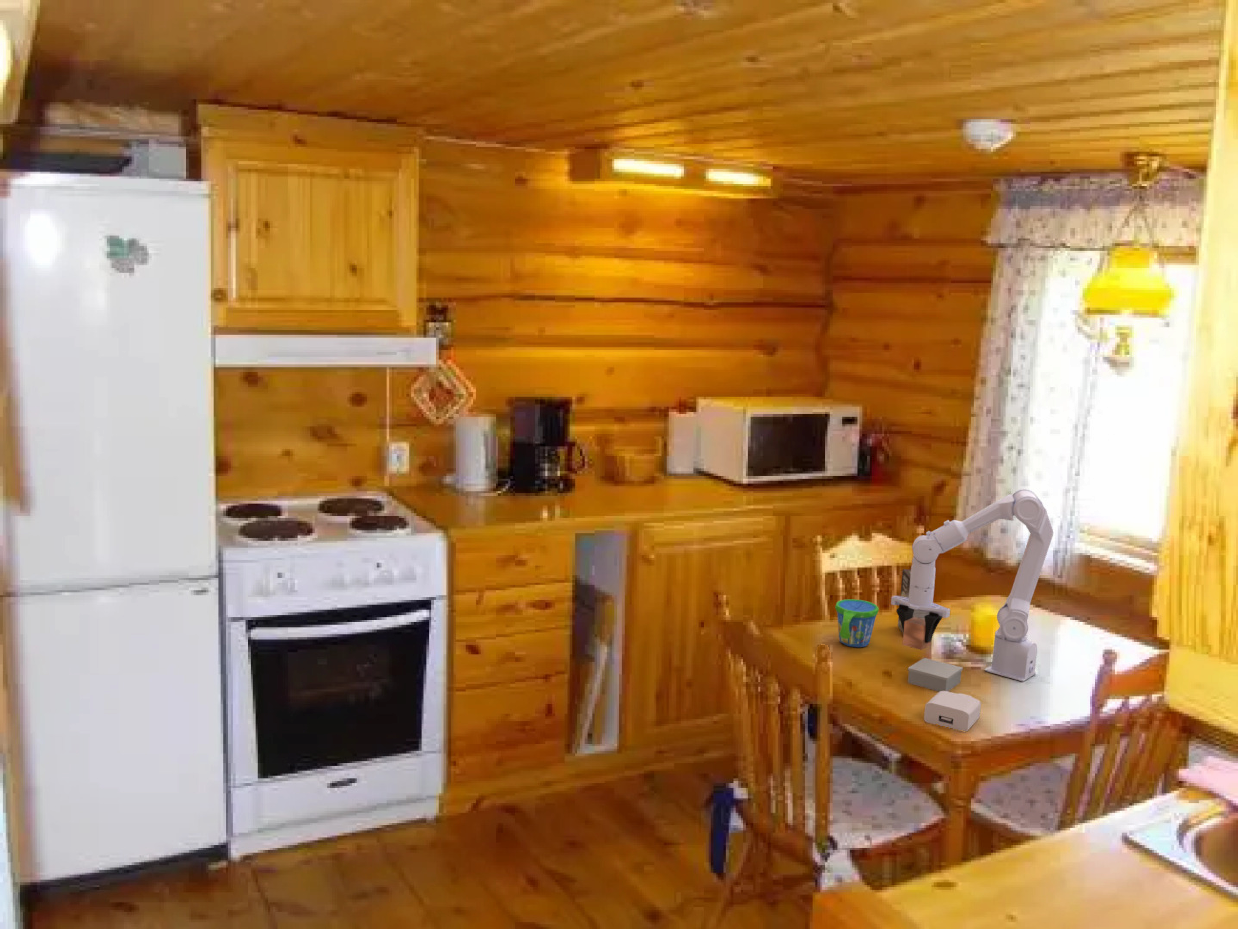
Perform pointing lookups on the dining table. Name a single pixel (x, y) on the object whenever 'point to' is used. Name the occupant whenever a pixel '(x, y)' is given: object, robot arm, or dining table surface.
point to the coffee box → (905, 593)
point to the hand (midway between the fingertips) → (917, 639)
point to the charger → (952, 710)
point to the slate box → (934, 675)
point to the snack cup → (855, 621)
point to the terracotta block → (915, 633)
